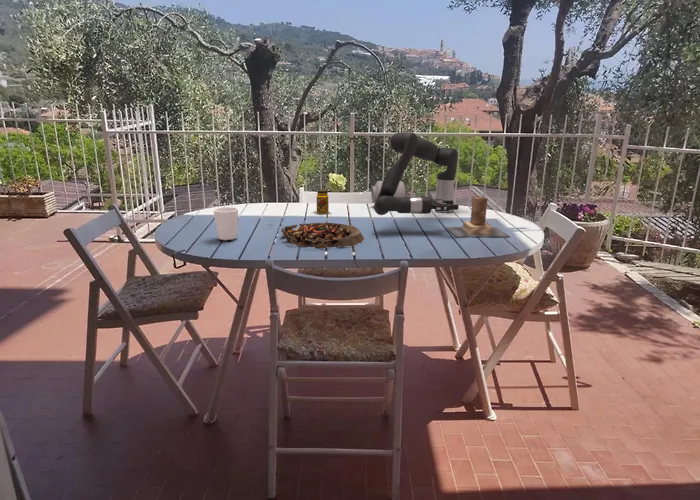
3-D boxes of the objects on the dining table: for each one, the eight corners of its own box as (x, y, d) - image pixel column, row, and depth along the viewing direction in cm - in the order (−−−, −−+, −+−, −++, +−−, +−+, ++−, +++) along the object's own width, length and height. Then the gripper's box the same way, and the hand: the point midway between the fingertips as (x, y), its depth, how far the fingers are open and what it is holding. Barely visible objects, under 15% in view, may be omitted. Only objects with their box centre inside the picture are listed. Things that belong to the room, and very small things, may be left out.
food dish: (266, 246, 199) (265, 228, 197) (303, 229, 229) (303, 212, 226) (346, 254, 186) (346, 234, 184) (374, 235, 216) (374, 217, 214)
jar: (405, 204, 255) (358, 196, 256) (401, 220, 268) (356, 212, 268) (409, 176, 265) (363, 168, 266) (404, 193, 278) (361, 186, 278)
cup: (227, 244, 197) (225, 213, 193) (210, 240, 202) (208, 210, 198) (244, 238, 205) (243, 208, 201) (227, 235, 210) (226, 205, 206)
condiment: (318, 215, 249) (318, 191, 246) (313, 211, 257) (312, 188, 253) (331, 214, 252) (331, 191, 248) (326, 210, 259) (326, 188, 256)
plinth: (455, 237, 212) (456, 228, 211) (445, 228, 227) (446, 219, 226) (509, 237, 214) (510, 228, 212) (496, 228, 229) (497, 219, 228)
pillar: (473, 225, 217) (476, 198, 213) (470, 222, 221) (472, 196, 218) (484, 225, 217) (487, 198, 213) (481, 222, 222) (483, 196, 218)
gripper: (423, 200, 208) (460, 199, 209) (416, 193, 221) (451, 193, 223) (422, 217, 210) (459, 217, 211) (415, 209, 224) (450, 209, 225)
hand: (455, 205), depth 217 cm, fingers open, 8 cm apart
